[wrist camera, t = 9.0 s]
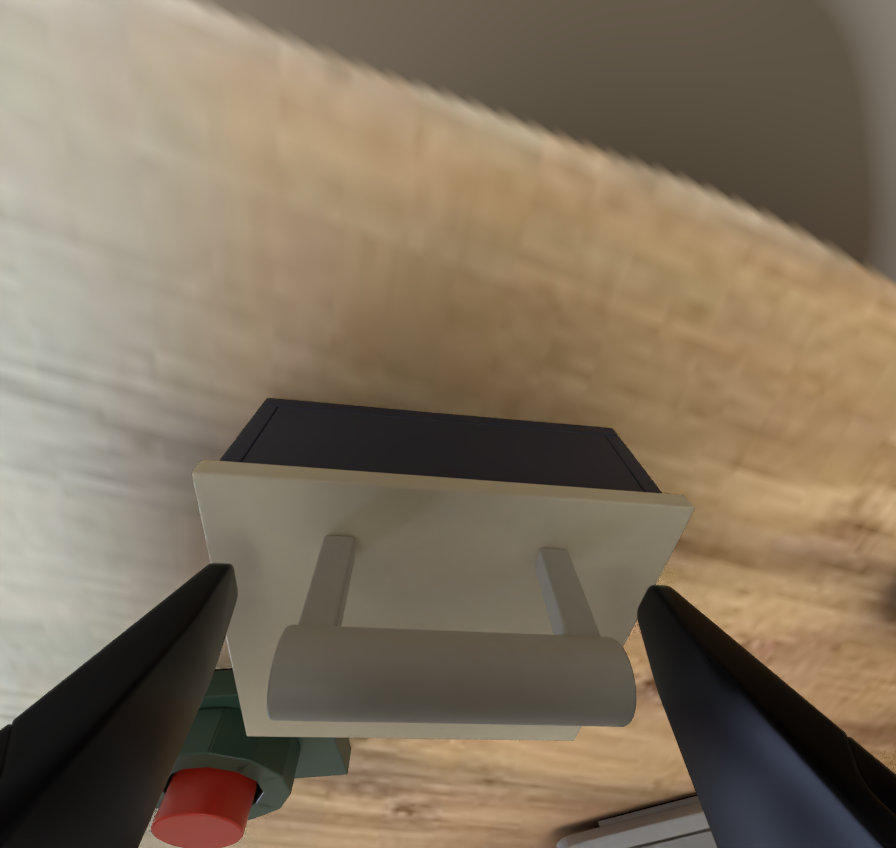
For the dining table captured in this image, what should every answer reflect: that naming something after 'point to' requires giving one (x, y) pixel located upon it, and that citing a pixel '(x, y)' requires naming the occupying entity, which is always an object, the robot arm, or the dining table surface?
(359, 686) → the beige panel
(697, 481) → the dining table surface
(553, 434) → the dark rimmed tray
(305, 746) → the alarm box
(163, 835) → the alarm button
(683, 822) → the digital clock
